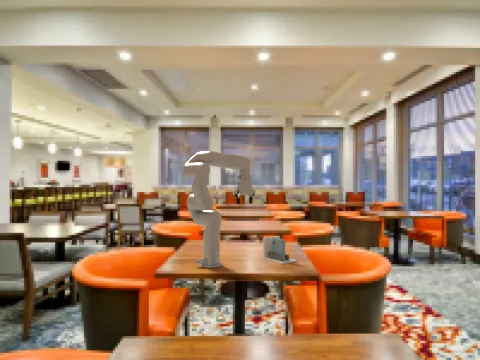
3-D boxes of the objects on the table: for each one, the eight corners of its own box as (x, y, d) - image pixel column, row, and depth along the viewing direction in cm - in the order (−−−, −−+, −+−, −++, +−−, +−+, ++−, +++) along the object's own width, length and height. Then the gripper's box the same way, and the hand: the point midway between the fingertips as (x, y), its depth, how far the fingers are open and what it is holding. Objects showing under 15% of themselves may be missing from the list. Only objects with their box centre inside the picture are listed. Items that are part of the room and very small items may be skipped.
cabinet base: (281, 264, 181) (281, 242, 181) (263, 258, 196) (263, 237, 196) (297, 261, 187) (297, 240, 187) (278, 255, 202) (278, 235, 202)
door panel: (280, 260, 185) (280, 240, 185) (270, 257, 194) (270, 238, 194) (285, 260, 187) (285, 240, 187) (274, 256, 196) (275, 237, 196)
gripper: (236, 177, 198) (236, 204, 198) (258, 177, 207) (258, 203, 207) (230, 177, 204) (230, 203, 204) (252, 177, 213) (252, 203, 213)
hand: (244, 203), depth 205 cm, fingers open, 9 cm apart
